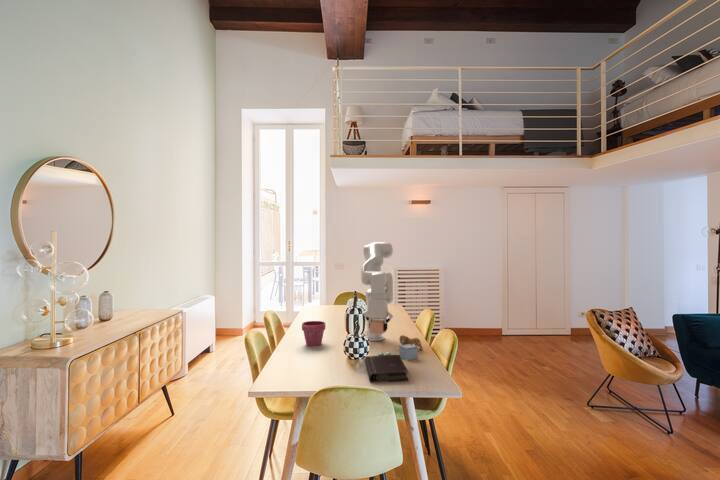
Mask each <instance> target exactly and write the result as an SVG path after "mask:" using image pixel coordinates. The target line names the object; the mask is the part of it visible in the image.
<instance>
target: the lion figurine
mask: <svg viewBox="0 0 720 480" xmlns="http://www.w3.org/2000/svg"><path fill="white" fill-rule="evenodd" d="M398 340H399V343H400V344H401V345H406V344H411V345H413V346H416V347H417V348H418V347H419V350H420V351H422V349H423V346H422V341H421V340H420V338H419V337H412V338H410V337H408V336H406V335H404V334H401V335H400V336H399V339H398Z"/></svg>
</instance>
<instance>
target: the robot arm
mask: <svg viewBox="0 0 720 480" xmlns="http://www.w3.org/2000/svg"><path fill="white" fill-rule="evenodd" d="M362 251H363V256H364V259H365V262H364V263H363V265H362V266H361V269H360V270H361V271H360V272H361V275H360V276H361V283H362V284H363V285H365V286H369V287H370V288H369V289H368V290H366V291H365V302H366V311H365V312H364V313H363V317H364V318H365V320H366V330H365V332H364V333H365V334H366V335H365V336H364V338H365V337H367V338H368V339H369V340H368V341H371V342H378V341H383V340H385V336H384V334H375V333H370V321H371V320H373V319H383V321H384V331H386V330H388V323H389V322H390V321H391V320H392V319H393V317H394V315H393V314H392V313H391V312H389V309H388V305H391V304H392V303H393V302H394V280H393V279H394V277H393V274H392V272H390V271H382V265H383V264H384V259H389V258H391V257H392V255H393V252H394V249H393V245H392V243H391V242H387V241H383V242H381V241H377V242H376V241H374V242H372V243H369V244H367V245H364V246H363V249H362ZM387 317H388V318H387ZM386 332H387V331H386Z"/></svg>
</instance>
